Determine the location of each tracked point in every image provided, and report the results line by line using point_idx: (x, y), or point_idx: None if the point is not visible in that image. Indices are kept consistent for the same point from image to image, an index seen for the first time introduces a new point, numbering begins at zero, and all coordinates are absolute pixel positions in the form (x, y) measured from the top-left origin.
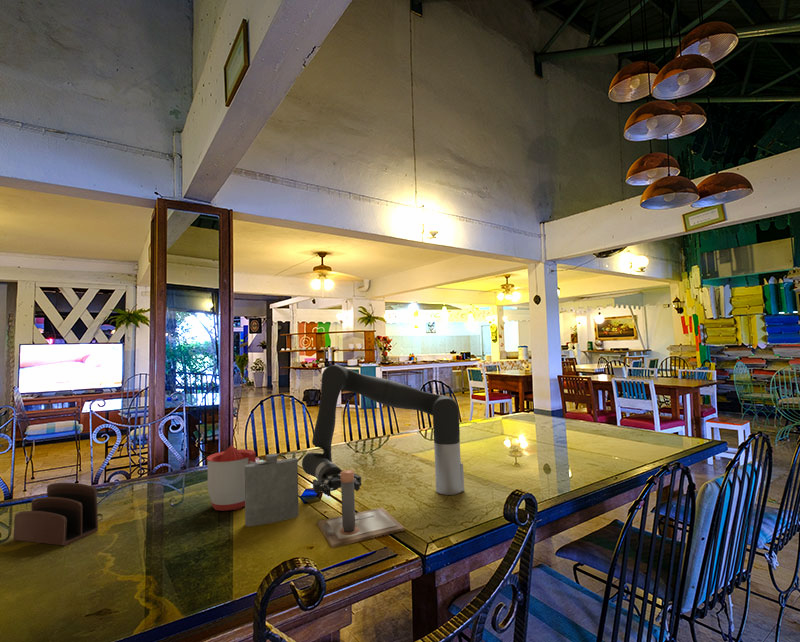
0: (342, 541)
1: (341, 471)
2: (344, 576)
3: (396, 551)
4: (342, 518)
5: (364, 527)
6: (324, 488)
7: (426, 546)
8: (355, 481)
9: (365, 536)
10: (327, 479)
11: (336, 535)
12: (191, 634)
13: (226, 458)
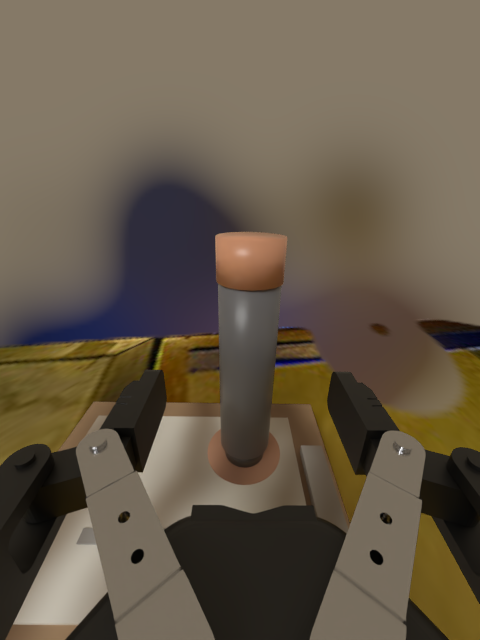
0: (280, 407)
1: (277, 240)
2: (294, 339)
3: (184, 355)
4: (270, 416)
5: (187, 447)
6: (379, 407)
7: (128, 350)
8: (134, 399)
9: (213, 404)
10: (388, 510)
11: (292, 441)
12: (475, 325)
13: None
